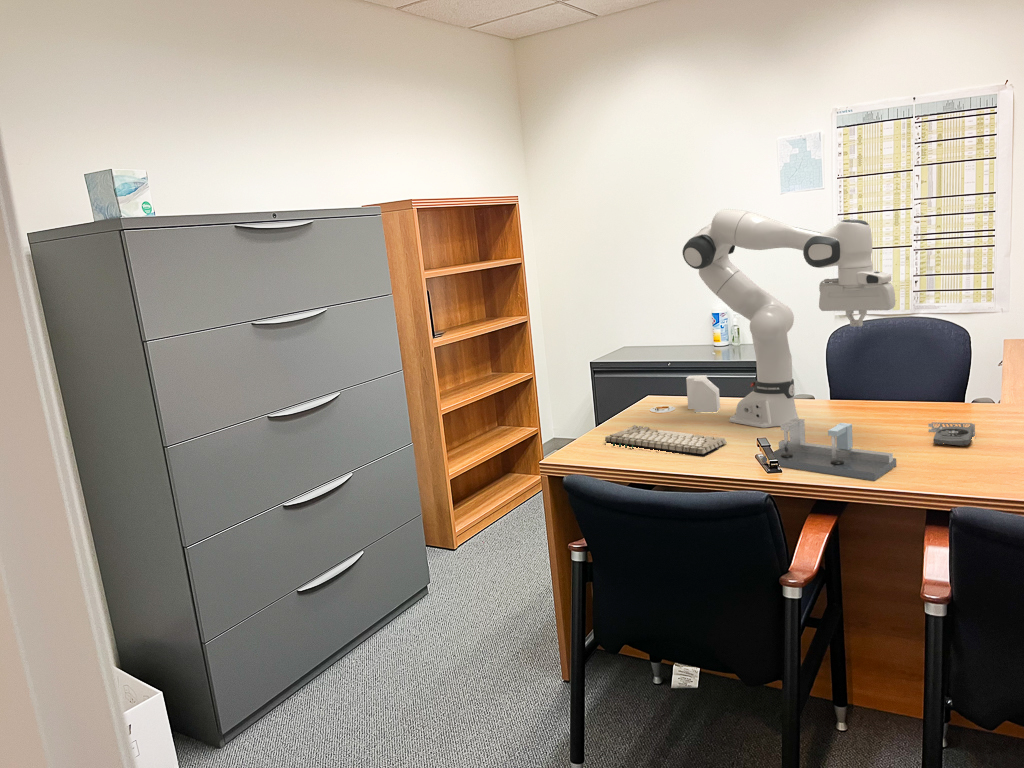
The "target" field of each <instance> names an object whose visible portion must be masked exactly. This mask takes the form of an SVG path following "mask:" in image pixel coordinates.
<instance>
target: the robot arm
mask: <svg viewBox="0 0 1024 768" xmlns="http://www.w3.org/2000/svg"><path fill="white" fill-rule="evenodd" d="M736 247H737V248H742V249H744V250H753V251H764V250H766V251H767V250H772V249H785V248H786V249H787V248H788V249H794V250H799V251H801V252H802V255H803V259H804V260H805V262H806V263H807V264H808V265H809V266H810V267H814V268H818V269H822V268H824V269H825V268H830V267H835V266H837V268H838V270H837V271H838V272H837V275H838V277H837V278H824V279H823V280H821V281H820V283H819V287H818V290H819V300H818V307H819V309H820V311H822V312H838V311H839V312H840V311H841V312H844V311H845V316H846V318H847V319H848V321H849V326H850V327H863V325H864V323H863V322H864V319H865V318H866V315H867V313H868V312H867V311H891V310H893V309H894V307H896V293H895V289H894V285H893V284H892V283H890V282H891V281H892V275H891V274H890V273H886V272H883V271H879V270H876V269H874V268H873V266H874V264H873V262H872V253H873V236H872V229H871V226H870V223H868V222H867V221H865V220H861V219H843V220H840V221H839V222H838V223H837V224H835V226H833V227H832V228H830V229H828V230H826V231H824V232H820V231H815V230H810V229H805V228H801V227H795V226H792V225H789V224H786V223H784V222H780V221H778V220H775V219H772V218H770V217H767V216H765V215H762V214H759V213H757V212H756V213H755V212H752V211H747V210H742V209H731V208H730V209H729V208H728V209H727V208H726V209H725V208H724V209H721V210H719V211H718V212H717V213H716V214H715V215H714V216H713V218H712V221H711V223H709V224H707V225H706V226H704V227H703V228H701V229H699V231H698V232H697V233H695V235H694V236H693V237H691V238H689V239H688V240H687V242H685V244H684V246H683V248H682V257H683V260H684V262H685V263H686V264H687V265H688V266H689V267H690V268H693V269H695V270H698V275H699V277H700V279H701V280H702V281H703V282H704V283H703V284H705V286H707V288H708V289H709V290H710V291H711V292H712V293H713V294H714V295H715V296H716V297H718V299H720V300H721V301H722V302H723V303H724V304H725V305H726V306H728V307H729V309H731V310H732V311H733V312H735V313H737V314H739V315H741V316H742V317H744V318H745V319H747V320H748V321H750V322H749V332H750V334H751V338H752V343H753V349H754V353H755V360H756V376H757V377H756V379H757V380H754V381H753V382H751V383H750V388H751V387H753V388H752V391H751V392H750V393H748V394H747V395H745V396H744V397H743V398H741V400H739V402H738V403H737V405H736V410H735V414H733V415H731V416H730V417H729V423H735V424H740V425H746V426H752V427H756V428H761V429H765V428H771V427H781V425H782V424H784V423H787V422H789V421H790V420H792V419H794V418H796V419H800V418H799V416H798V412H797V409H796V408H797V407H796V403H795V380H794V378H793V365H792V364H793V358H792V357H793V356H792V353H791V350H790V346H789V345H790V344H789V340H788V332H789V331H790V330H791V329H792V327H793V325H794V323H795V322H794V320H795V319H794V318H795V317H794V316H795V315H794V312H793V311H792V309H791V308H790V307H789V306H788V305H785V303H783V302H782V301H780V300H779V299H778V298H776V297H775V296H774V295H772V294H770V293H769V292H767V291H766V290H764V289H762V288H761V287H760V286H759V285H757V284H756V283H755V282H754V281H753V280H752V279H750V278H749V277H748V276H747V275H746V274H745V273H743V271H741V269H739V268H738V267H737V266H736V265H734V263H732V262H731V260H730V259H729V255H731V254H733V253H734V252H735V248H736ZM854 311H855V312H856V311H858V315H859V317H858V319H856V318H855V317H854V315H853V314H854Z"/></svg>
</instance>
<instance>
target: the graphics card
mask: <svg viewBox="0 0 1024 768" xmlns="http://www.w3.org/2000/svg"><path fill="white" fill-rule="evenodd" d="M927 425H928V433H935V434H934V436H933V441H932V442H933V443H934V444H937V445H945V444H948V445H950V446H959V447H958V448H960V447H961V446H963V447H964V445H966V446H965V447H967V446H968V445H969V444H970V443H971V442H972V441H971V439H972V437H974V436H975V434H976V423H972V422H941V421H940V422H939V421H938V422H937V421H936V422H934V421H933V422H931V423H927ZM943 425H944V426H943ZM943 443H944V444H943Z"/></svg>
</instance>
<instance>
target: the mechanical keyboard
mask: <svg viewBox="0 0 1024 768" xmlns="http://www.w3.org/2000/svg"><path fill="white" fill-rule="evenodd" d="M604 438H605V439H604V441H605V443H611V444H613V446H615V444H616V445H619V447H621V445H622V446H624V445H625V448H627V446H629V447H632V449H634V448H633V447H636V448H638V447H639V448H644V449H650V450H653V449H654V450H658V451H659V450H660V451H666V452H672V453H673V454H675V453H679V454H678V455H683V454H685V455H684V456H693V457H697V458H698V457H700V458H705V457H707V456H708V455H711V454H713V453H715V452H716V451H718V450H719V449H720V448H722V447H724V445H725V444H727V441H726V438H725V437H718V436H717V437H716V438H715V437H714V436H709V435H705V436H704V435H701V434H700V435H699V434H695V435H694V434H693V433H688V432H680V431H679V432H678V431H670V430H658V429H652V428H650V426H638V425H635V424H634V425H632V426H630V427H628V428H625V429H623V430H620V431H618V432H615V433H610V434H609V435H606V436H605V437H604ZM632 449H631V450H632Z"/></svg>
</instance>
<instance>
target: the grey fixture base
mask: <svg viewBox="0 0 1024 768" xmlns="http://www.w3.org/2000/svg"><path fill="white" fill-rule="evenodd" d="M805 425H806V424H805V418H804V419H803V418H799V419H796V418H794V419H792V420H790V421H789V422H787V423H784V424H782V425H781V426H780V431H783V439H782V440H780V441H778V449H776V450H774V451H772V452H773V454H774V456H775V458H776V459H777V460H778V463H779V465H780V466H781V467H780V468H785V467H787V468H786V469H793V470H798V469H800V471H805V470H806V471H805V472H812V473H819V474H826V475H833V476H837V477H838V476H841V477H846V478H853V479H860V480H866V481H873V482H875V481H876V480H878V479H879V478H881V477H882V476H884V475H885V474H887V473H888V472H889V470H890V471H891V470H892V468H893V467H894V468H895V467H897V458H895V457H894V454H893V452H884V451H877V450H876V451H875V450H867V449H861V448H860V449H859V448H853V447H852V448H850V449H849V450H844V449H837V446H836V458H835V459H833V458H832V445H826V444H818V443H810V442H806V428H805V427H806V426H805ZM766 461H767V458H766V455H764V456H763V457H762V463H763V462H766ZM894 468H893V469H894ZM886 472H887V473H886Z"/></svg>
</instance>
